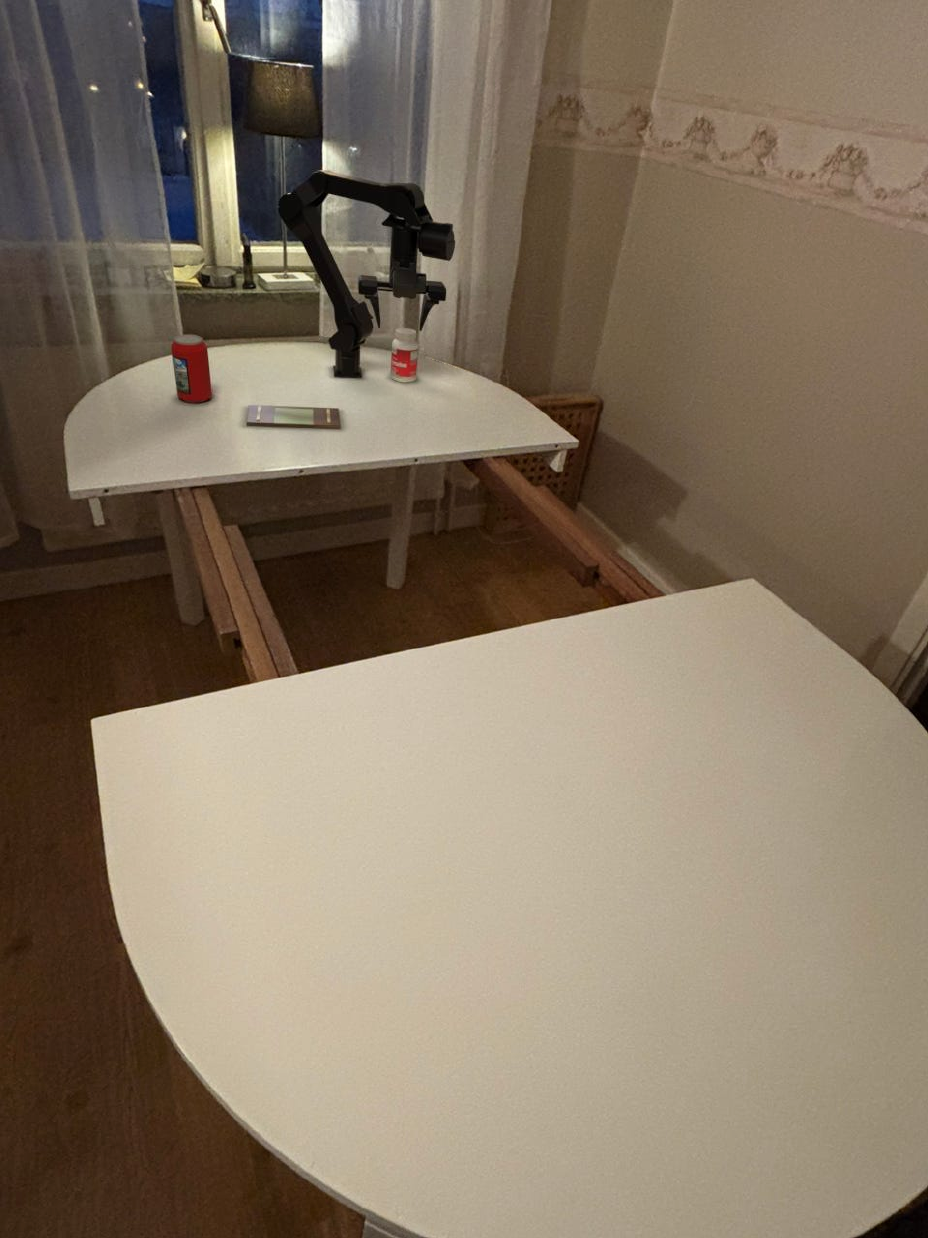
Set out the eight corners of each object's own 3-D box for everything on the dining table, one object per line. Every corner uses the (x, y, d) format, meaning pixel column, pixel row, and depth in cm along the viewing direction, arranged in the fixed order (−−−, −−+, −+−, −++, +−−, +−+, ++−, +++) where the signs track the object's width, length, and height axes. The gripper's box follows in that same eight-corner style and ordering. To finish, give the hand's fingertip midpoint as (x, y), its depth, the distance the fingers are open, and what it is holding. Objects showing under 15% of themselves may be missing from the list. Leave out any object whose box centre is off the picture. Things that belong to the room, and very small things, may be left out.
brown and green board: (249, 408, 150) (248, 403, 150) (338, 411, 154) (338, 407, 153) (246, 426, 143) (246, 421, 143) (340, 429, 147) (340, 424, 146)
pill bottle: (384, 377, 174) (386, 328, 168) (402, 372, 178) (405, 325, 172) (404, 384, 171) (407, 336, 165) (421, 379, 176) (425, 332, 169)
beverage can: (175, 393, 153) (167, 333, 146) (209, 391, 155) (203, 332, 148) (180, 405, 148) (172, 344, 141) (215, 403, 151) (209, 343, 144)
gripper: (360, 256, 147) (358, 337, 156) (452, 264, 150) (445, 342, 160) (358, 245, 156) (357, 322, 165) (445, 253, 159) (439, 328, 168)
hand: (399, 329), depth 164 cm, fingers open, 9 cm apart
